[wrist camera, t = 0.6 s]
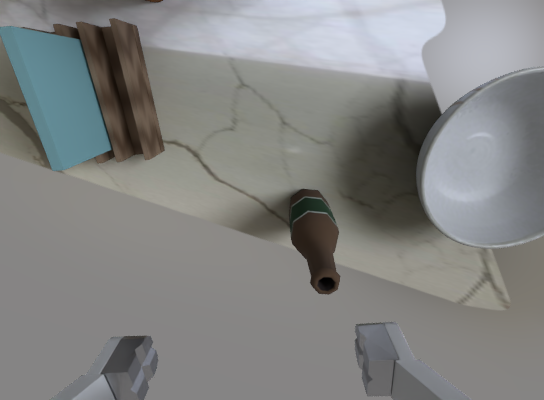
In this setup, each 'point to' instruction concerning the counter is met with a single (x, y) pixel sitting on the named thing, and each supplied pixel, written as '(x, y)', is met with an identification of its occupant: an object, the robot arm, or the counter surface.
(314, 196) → the beer bottle
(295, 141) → the counter surface
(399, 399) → the robot arm
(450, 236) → the decorative bowl
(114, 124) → the rack
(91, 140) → the tall sheet
